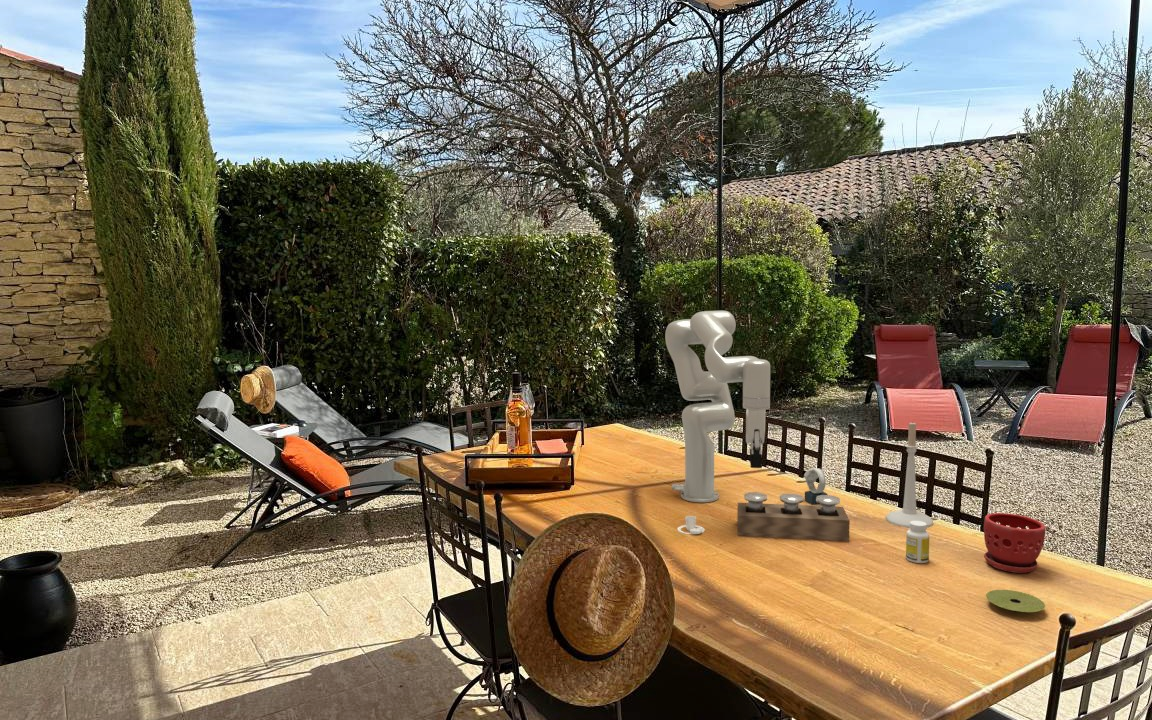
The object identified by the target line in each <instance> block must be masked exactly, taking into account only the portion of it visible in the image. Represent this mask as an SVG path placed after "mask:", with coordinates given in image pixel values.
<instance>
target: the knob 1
mask: <svg viewBox="0 0 1152 720" xmlns="http://www.w3.org/2000/svg"><path fill="white" fill-rule="evenodd" d="M743 497H744V498H743V499H744V500H745V501H747V503H748V512H751V513H763V504H764V502H766V501H767V500H768V495H767V494H766V493H763V492H756V491H755V492H754V491H753V492H752V491H751V492H746V493H744V495H743Z"/></svg>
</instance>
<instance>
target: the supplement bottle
mask: <svg viewBox="0 0 1152 720" xmlns="http://www.w3.org/2000/svg"><path fill="white" fill-rule="evenodd" d="M927 530H928V527H927V524H926V523H925V522H922V521H911V522H910V528H908V530H907V531H906V535H905V536H906V537H905V538H906V540H905V541H906V543H905V558H906V559H907V561H909V562H911V563H917V564H926V563H928V562H929V559H930V534H929V532H928V531H927Z"/></svg>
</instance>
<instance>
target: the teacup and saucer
mask: <svg viewBox="0 0 1152 720" xmlns="http://www.w3.org/2000/svg"><path fill="white" fill-rule="evenodd" d="M684 520H685V521H684V522H685V524H683V525H679V526H678V527H677V529H676V530H677V531H678V532H679V533H681V534H684V535H701V534H703V533H704V532H705V531H706V529H705V528H704V527H703V526H701V525H698V524H697V517H696V516H693V515H687V516H685V517H684ZM682 528H685V529H686V531H688V532H685V531H683V530H682Z"/></svg>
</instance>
